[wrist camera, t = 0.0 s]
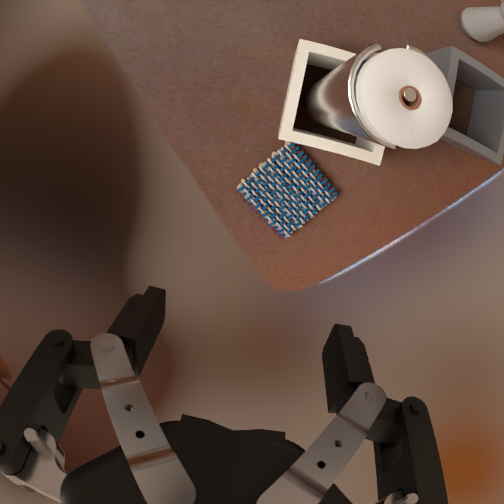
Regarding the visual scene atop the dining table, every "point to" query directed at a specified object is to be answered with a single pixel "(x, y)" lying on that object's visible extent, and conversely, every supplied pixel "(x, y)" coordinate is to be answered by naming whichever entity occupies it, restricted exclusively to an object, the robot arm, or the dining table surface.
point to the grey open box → (475, 104)
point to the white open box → (303, 55)
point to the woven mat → (283, 188)
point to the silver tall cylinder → (385, 98)
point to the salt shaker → (483, 22)
